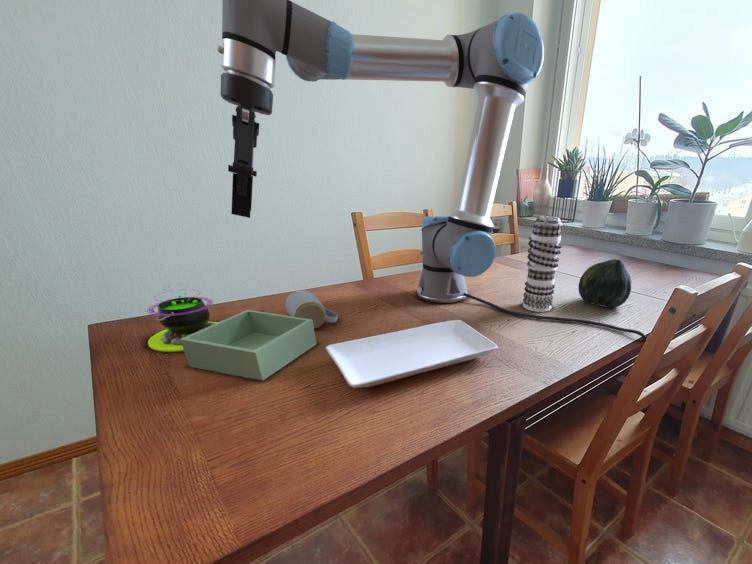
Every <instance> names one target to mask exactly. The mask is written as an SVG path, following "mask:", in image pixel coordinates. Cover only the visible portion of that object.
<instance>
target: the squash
mask: <svg viewBox="0 0 752 564" xmlns="http://www.w3.org/2000/svg"><path fill="white" fill-rule="evenodd" d="M631 292H632V277H631V275H630V273H629V270H628V269H627V268H626V266H625V264H624V262H623V261H622V260H621V259H619V258H614V259H608V260H605V261H602V262H597V263H594V264H593V265H591V266H589V267H588V268H586V270H585V271H584V272H583V273H582V275H581V276H580V278H579V282H578V294H579V296H580V297H581V299H582V300H583V301H584V303H586V304H590V305H591V304H593V305H596V306H597V305H599V306H601V307H605V308H607V309H615V308H617V307H620V306H623V304H624V303H625V302H626V301H628V299H629V297H630V295H631Z"/></svg>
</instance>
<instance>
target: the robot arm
mask: <svg viewBox="0 0 752 564" xmlns="http://www.w3.org/2000/svg"><path fill="white" fill-rule="evenodd" d="M221 6H222V8H221V10H222V11H221V13H222V14H221V19H222V20H221V28H222V29H221V31H222V32H221V40H222V41H221V44H222V45H217V47H216V51H217V53H218V54H221V68H222V70H223V71H224V72H222V73H221V74H220V93H219V94H220V98H222V99H223V100H224V101H225V102H227V103H230V104H231V105H235V106H236V107H235V112H236V114H232V116H231V126H232V139H233V140H234V150H233V151H234V152H233V161H232V164H228V166H227V167H228V168H227V172H229V173H232V185H231V186H232V187H231V212H230V213H231V215H233V216H239V217H243V218H248V219H250V218H251V212H252V203H253V202H252V200H253V184H254V177H255V178H257V175H258V174H257V172H258V171H257V170H254V164H253V163H254V149H255V148H257V146H258V136H259V135H260V123H259V122H257V121H256V116H257V115H256V113H257V114H260V115H263V116H270V115H272V114H273V106H274V105H273V104H274V93H273V91H272V90H271V89H274V87H275V81H276V79H275V78H276V61H277V60H276V58H277V57H276V54H277V52H278V53H280V54H282V55H284V56H285V59H286V62H287V64H288V67H289V69H290V70H291V71H292V73H293V74H294V75H295V76H297V77H298V78H299V79H301V80H303V81H305V82H313V83H314V82H318V81H319V80H330V81H331V80H333V81H335V80H342V81H345V80H348V81H349V80H353V81H393V82H394V81H396V82H397V81H398V82H399V81H401V82H402V81H403V82H443V83H444V85H445V86H446V87H448V88H463V89H472V90H474V92H475V94H476V95H477V102H476V106H475V112H474V117H473V123H472V126H471V127H472V128H471V132H470V137H469V142H468V147H467V153H466V159H465V163H464V168H463V173H462V178H461V183H460V187H459V193H458V197H457V203H456V207H455V209H454V210H452V211H451V212H450V213H449V214H448V215H436V216H435V215H434V216H424V217H423V218H422V221H421V230H420V231H421V247H422V250H421V253H422V270H421V271H422V272H421V275H420V278H419V281H418V285H417V290H416V292H417V293H416V295H417V297H418V298H419V299H421V300H423V301H424V302H429V303H435V304H452V303H458V302H462V301H465V300H466V299H467V298H470V299H472V300H474V301H477V302H480V303H482V304H485V305H487V306H490V307H491V308H494V309H496V310H499V311H501V312H504V313H507V314H510V315H514V316H519V317H525V318H531V319H537V320H550V321H561V322H570V323H571V322H572V323H580V324H587V325H594V326H600V327H605V328H608V329H612V330H616V331H619V332H624V333H631V334H635V335H638V336H640V337H641V338H642V339H643V340H644V341H645V340H646V338H648V336H647V335H646V334H644V333H643V332H641V331H639V330H636V329H631V328H625V327H620V326H615V325H612V324H608V323H603V322H599V321H595V320H594V321H593V320H587V319H579V318H568V317H557V316H547V315H536V314H530V313H525V312H518V311H514V310H511V309H507V308H505V307H501V306H500V305H497V304H494V303H492V302H490V301H488V300H484V299H482V298H480V297H477V296H474V295H471V294H469V293H468V287H467V283H466V280H465V277H467V278H474V277H478V276H481V275H482V274H483V273H485V272H486V271H488V269H490V268H491V266H492V265H493V263H494V261H495V257H496V253H497V248H496V247H497V246H496V243H495V241H494V239H493V237H492V235H493V231H494V223H493V221H492V220H491V213H492V208H493V205H494V200H495V197H496V191H497V187H498V182H499V178H500V174H501V171H502V166H503V161H504V156H505V153H506V148H507V144H508V139H509V137H510V132H511V127H512V123H513V118H514V114H515V109H516V108H517V107H518V106H520V105H522V104H523V103H524V101H525V97H526V92H527V89H528V84H529V83H531V82H533V81H534V80H535V79H536V78H537V77H538V76H539V74H540V72H541V70H542V67H543V64H544V60H545V59H544V58H545V46H544V40H543V37H542V36H541V33H540V31H541V30H540V29H539V27H538V25H537V23H536V22H535V21H534V20H533V19H532V18H531V17H530V16H528V15H527V14H525V13H523V12H522V13H521V12H513V13H509V14H504V15H502V16H501V17H499V18H498V19H497V20H495V21H492V22H490V23H488V24H486V25H484V26H482V27H480V28H477V29H475V30H472V31H470V32H466V33H462V34H446V35H445V36H444V37H443V39H432V38H431V39H430V38H417V37H400V36H384V35H370V34H369V35H368V34H354V33H351V32H350V31H349V30H347V29H345V28H344V27H342V26H340V25H339V24H337V22H335V21H333V20H332V21H331V20H329V19H327V18H325V17H323V16H321V15H319V14H318V13H316V12H314V11H312V10H309V9H307V8H305V7H303V6H302V5H299V4H297V3H296V2H294V1H292V0H222V5H221Z"/></svg>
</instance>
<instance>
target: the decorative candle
mask: <svg viewBox="0 0 752 564" xmlns="http://www.w3.org/2000/svg"><path fill="white" fill-rule="evenodd" d="M532 224H533V225H532V233H531V237H530V236H529V238H528V240H529V241H528V242H527V245H528V246H529V248H528V249H527V253H528V254H527V255H526V259H528V261H527V262H526V266H527V269H528V270H527V275H526V281H525V283H524V286H525V287H524V290H523V291H525V292H524V293H523V294H522V295H523V299H522V302H523V304H522V307H523V308H524V309H526V310H528V311H532V312H537V313H542V312H543V313H545V312H549V311H550V310H552V305H553V300H554V295H553V294H554V293H555V290H554V289H555V287H556V285H555V280H556V279H555V275H556V271H557V270H558V267H559V264H558V262H559V261H560V258H559V257H558V256H559V255H561V254H562V252H561V250H560V249H562V248H563V246H562V245H561V239H562V235H561V233H562V227H563V226H564V223H563V222H562V221H561V218H560V217H558V216H553V215H539V216H538V217H537V218H536V219H535V220H533V221H532Z"/></svg>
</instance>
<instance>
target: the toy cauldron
mask: <svg viewBox="0 0 752 564" xmlns="http://www.w3.org/2000/svg"><path fill="white" fill-rule="evenodd" d="M177 286H185V287H186V284H182V283H181V284H179V283H178V284H177ZM165 288H169V285H167V286H163V289H164V292H163V291H162V292H161V293H159V294H156V296H153V300H155V301H157V303H155V304H153V305H151V306H149V307H147V309H146V312H147V313H148V314H149V315H153V316H155V315H156V316H157V318H156V321H157V322H159V323H160V324H161V325H162V327H164V328H165V329H163V330H161V331H159V332H157V333H155V334H154V335H152V336H151V337H150V338H149V339H148V341H147V345H148V348H150V349H151V350H154V351H158V352H162V353H163V352H166V353H177V352H179V353H180V352H184V349H183V346H182V344H181V341H180V339H182V338H184V337H186V336H188V335H191V334H193V333H195V332H198V331H200V330H202V329H204V328H207V327H209V326H211V325H214V324H216V323H218V321H210V315H211V314H210V311H209V307H211V306H213V305H214V300H213V299H212V298H208V297H203V296H202V297H201V296H200V295H201V291H200V290H198V289H197V290H196V289H193V288H192V289H190V290H192V291H194V292H195V291H197V292H198V296H185V297H182V295H178V297H176V298H171V299H165V300H160V301H158V300H157V299H156V298H157V296H159V295H160V294H161V295H162V294H166V292H167V293H168V292H173V291H174V292H175V289H172V290H171V289H169V290H167V289H165ZM183 290H184V291H185V290H186V291H188V288H180V289H179V291H183ZM184 295H187V292H185V293H184ZM204 301H206V304H205V302H204ZM156 307H157V311H155V310H154V309H155V308H156Z"/></svg>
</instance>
